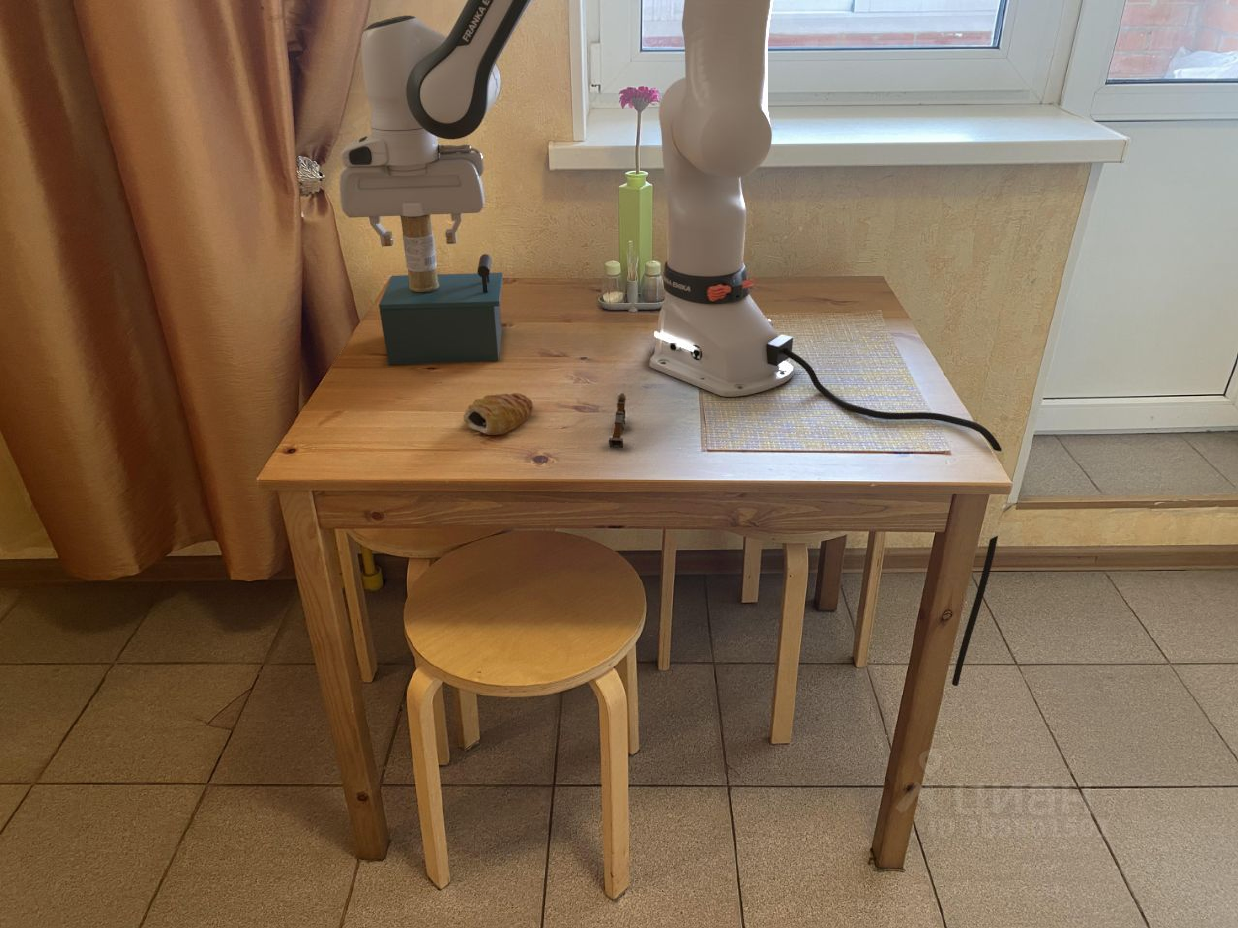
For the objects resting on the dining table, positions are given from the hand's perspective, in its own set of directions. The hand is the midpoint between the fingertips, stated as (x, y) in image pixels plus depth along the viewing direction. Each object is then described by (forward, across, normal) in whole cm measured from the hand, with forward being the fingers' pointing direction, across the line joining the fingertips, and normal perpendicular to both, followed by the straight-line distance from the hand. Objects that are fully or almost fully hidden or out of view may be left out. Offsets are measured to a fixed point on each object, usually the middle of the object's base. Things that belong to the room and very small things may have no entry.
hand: (419, 244), depth 130 cm
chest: (+16, -2, 0) cm, 17 cm away
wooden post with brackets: (+17, -27, +31) cm, 44 cm away
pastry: (+17, -11, +26) cm, 33 cm away
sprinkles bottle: (+7, 0, 0) cm, 7 cm away
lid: (+8, -3, 0) cm, 8 cm away
